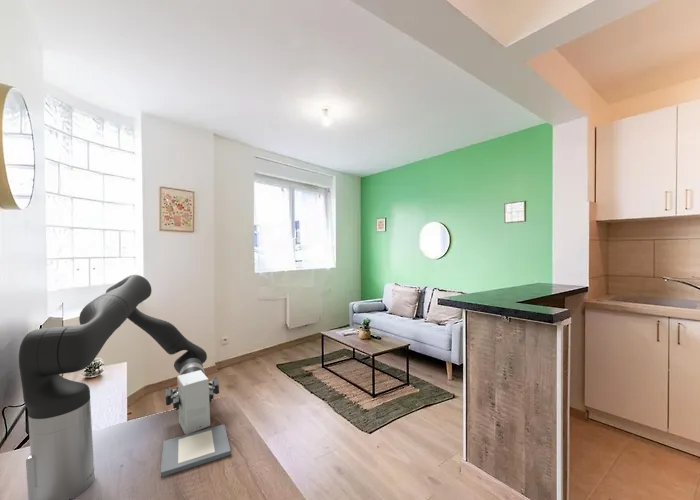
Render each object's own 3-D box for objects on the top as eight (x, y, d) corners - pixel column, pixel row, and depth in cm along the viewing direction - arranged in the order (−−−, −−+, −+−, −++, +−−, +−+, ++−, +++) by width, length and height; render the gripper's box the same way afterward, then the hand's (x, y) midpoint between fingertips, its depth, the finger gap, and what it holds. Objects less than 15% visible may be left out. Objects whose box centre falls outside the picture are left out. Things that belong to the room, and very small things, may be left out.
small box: (210, 426, 85) (209, 378, 84) (184, 435, 81) (182, 386, 80) (202, 413, 91) (201, 369, 91) (178, 421, 87) (176, 375, 87)
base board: (160, 477, 67) (160, 472, 67) (163, 444, 78) (163, 440, 77) (230, 454, 74) (230, 450, 73) (224, 427, 84) (224, 423, 84)
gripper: (165, 371, 95) (162, 395, 80) (216, 361, 102) (222, 382, 87) (166, 396, 95) (163, 424, 81) (217, 384, 102) (223, 408, 87)
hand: (194, 402), depth 84 cm, fingers closed on small box, 7 cm apart
